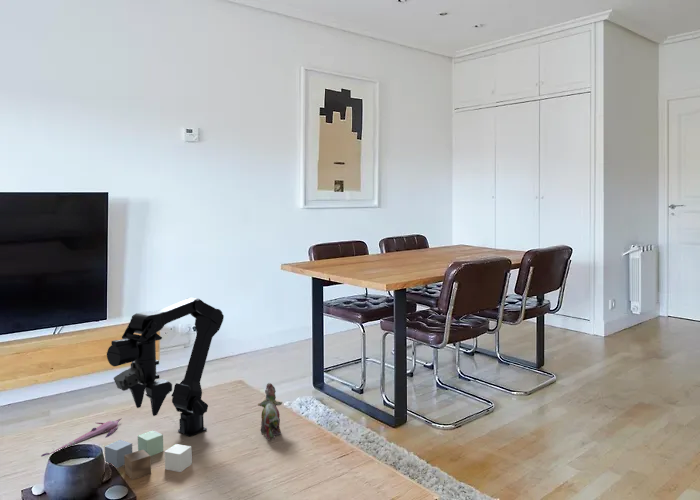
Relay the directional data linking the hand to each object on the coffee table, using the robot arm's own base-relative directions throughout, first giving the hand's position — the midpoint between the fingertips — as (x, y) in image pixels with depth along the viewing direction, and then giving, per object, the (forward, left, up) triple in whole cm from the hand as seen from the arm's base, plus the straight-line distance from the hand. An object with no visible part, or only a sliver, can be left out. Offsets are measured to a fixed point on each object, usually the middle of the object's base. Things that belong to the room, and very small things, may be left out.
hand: (146, 411), depth 159 cm
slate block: (+8, -1, -12) cm, 15 cm away
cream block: (-1, +14, -12) cm, 19 cm away
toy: (+7, -23, -13) cm, 27 cm away
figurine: (-31, +17, -12) cm, 37 cm away
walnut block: (+8, +9, -12) cm, 18 cm away
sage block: (-1, 0, -12) cm, 12 cm away
